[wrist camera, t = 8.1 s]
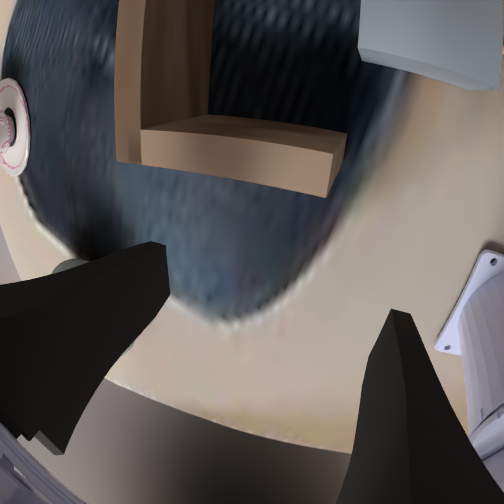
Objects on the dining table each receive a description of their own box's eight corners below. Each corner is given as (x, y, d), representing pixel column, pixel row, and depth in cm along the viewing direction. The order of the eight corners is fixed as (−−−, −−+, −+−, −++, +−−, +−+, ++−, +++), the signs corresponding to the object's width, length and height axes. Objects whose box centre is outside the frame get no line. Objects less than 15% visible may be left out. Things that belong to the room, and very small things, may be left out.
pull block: (572, 46, 6) (614, 43, 2) (565, 138, 9) (608, 157, 5) (367, -37, 9) (362, -76, 6) (362, 60, 12) (357, 47, 9)
